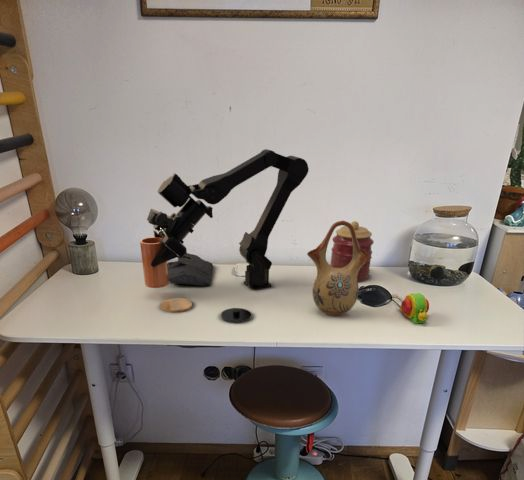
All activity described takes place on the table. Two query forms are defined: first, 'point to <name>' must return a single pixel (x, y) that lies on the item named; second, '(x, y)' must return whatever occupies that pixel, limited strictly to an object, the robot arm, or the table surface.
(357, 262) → the ceramic vessel
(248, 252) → the robot arm
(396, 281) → the table surface
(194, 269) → the dark slate chunk
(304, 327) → the table surface
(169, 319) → the table surface
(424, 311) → the toy measuring tape
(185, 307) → the coaster
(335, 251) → the kitchen canister
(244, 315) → the lid
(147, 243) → the pot
